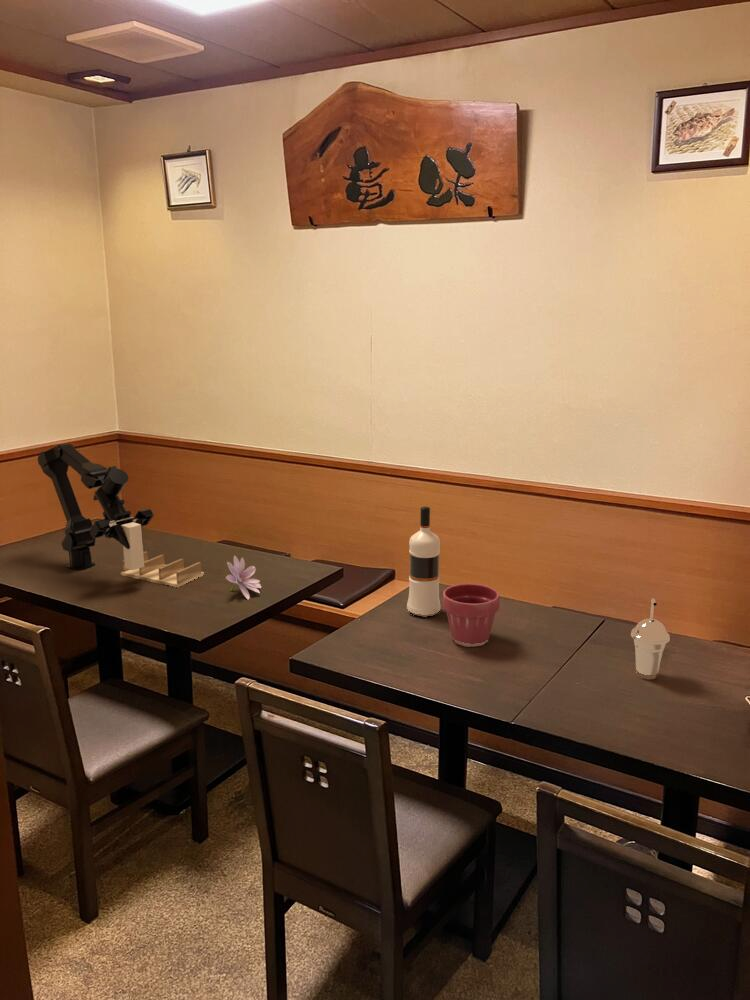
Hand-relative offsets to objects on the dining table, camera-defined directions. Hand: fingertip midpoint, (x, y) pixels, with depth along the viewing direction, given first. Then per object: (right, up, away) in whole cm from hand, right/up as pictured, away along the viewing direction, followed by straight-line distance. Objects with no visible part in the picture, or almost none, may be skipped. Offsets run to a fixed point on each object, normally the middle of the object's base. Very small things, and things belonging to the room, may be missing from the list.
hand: (135, 546), depth 234 cm
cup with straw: (+132, -27, -49) cm, 144 cm away
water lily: (+32, -14, +1) cm, 35 cm away
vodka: (+83, -17, -13) cm, 86 cm away
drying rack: (+4, -10, +16) cm, 19 cm away
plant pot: (+94, -22, -31) cm, 101 cm away
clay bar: (-1, -6, +3) cm, 7 cm away
